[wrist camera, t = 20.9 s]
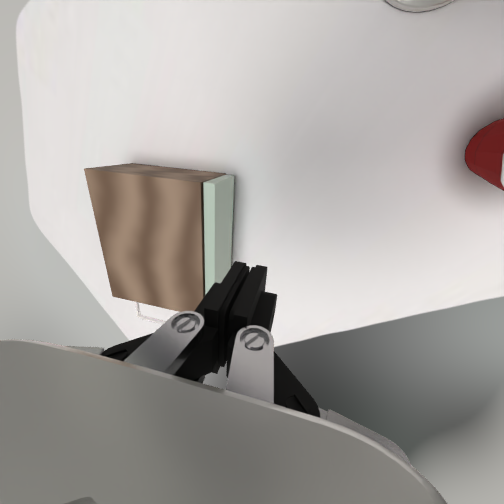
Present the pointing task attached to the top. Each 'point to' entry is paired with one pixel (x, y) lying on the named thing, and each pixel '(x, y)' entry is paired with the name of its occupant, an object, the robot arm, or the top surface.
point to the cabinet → (152, 232)
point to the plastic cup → (488, 153)
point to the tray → (218, 228)
